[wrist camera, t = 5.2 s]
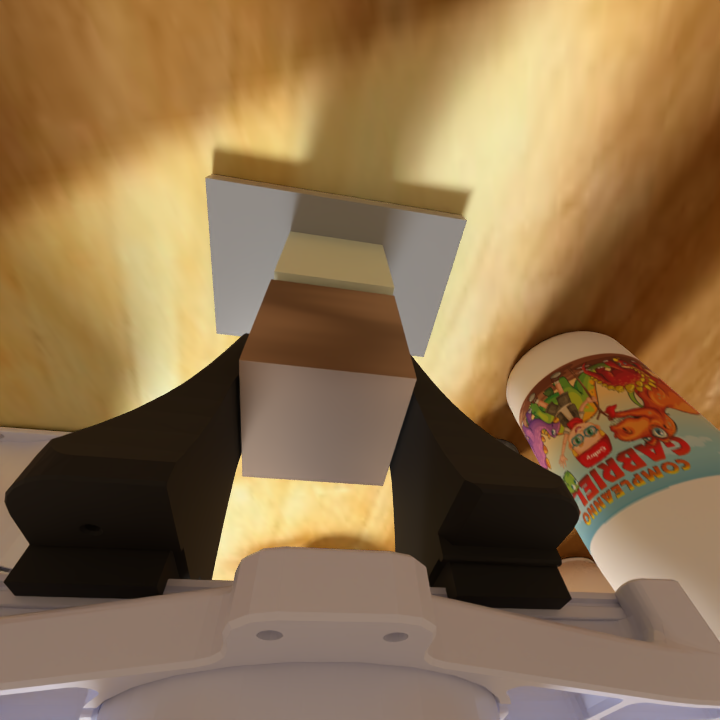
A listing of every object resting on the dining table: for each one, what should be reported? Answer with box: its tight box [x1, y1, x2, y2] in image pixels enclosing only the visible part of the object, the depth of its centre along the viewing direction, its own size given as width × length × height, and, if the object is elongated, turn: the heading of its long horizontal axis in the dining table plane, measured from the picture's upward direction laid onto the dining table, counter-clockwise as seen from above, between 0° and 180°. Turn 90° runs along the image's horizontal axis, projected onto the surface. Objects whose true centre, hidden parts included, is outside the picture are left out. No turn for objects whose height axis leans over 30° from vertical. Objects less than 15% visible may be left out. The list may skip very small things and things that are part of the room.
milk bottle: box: [506, 331, 720, 642], centre depth 17 cm, size 8×8×20 cm
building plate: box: [206, 174, 467, 357], centre depth 19 cm, size 12×8×1 cm, turn 81°
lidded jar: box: [558, 557, 615, 593], centre depth 37 cm, size 11×11×9 cm
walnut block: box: [239, 279, 417, 486], centre depth 13 cm, size 4×4×5 cm
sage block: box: [274, 231, 394, 295], centre depth 17 cm, size 4×4×5 cm
